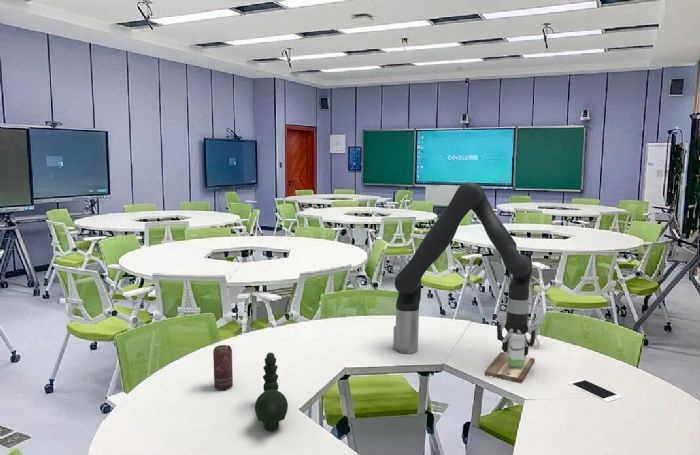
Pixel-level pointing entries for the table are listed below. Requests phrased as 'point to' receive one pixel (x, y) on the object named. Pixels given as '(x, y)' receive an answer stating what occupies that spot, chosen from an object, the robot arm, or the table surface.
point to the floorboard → (509, 368)
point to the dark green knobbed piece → (271, 397)
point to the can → (223, 367)
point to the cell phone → (595, 390)
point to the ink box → (515, 349)
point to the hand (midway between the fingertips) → (514, 353)
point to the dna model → (535, 308)
